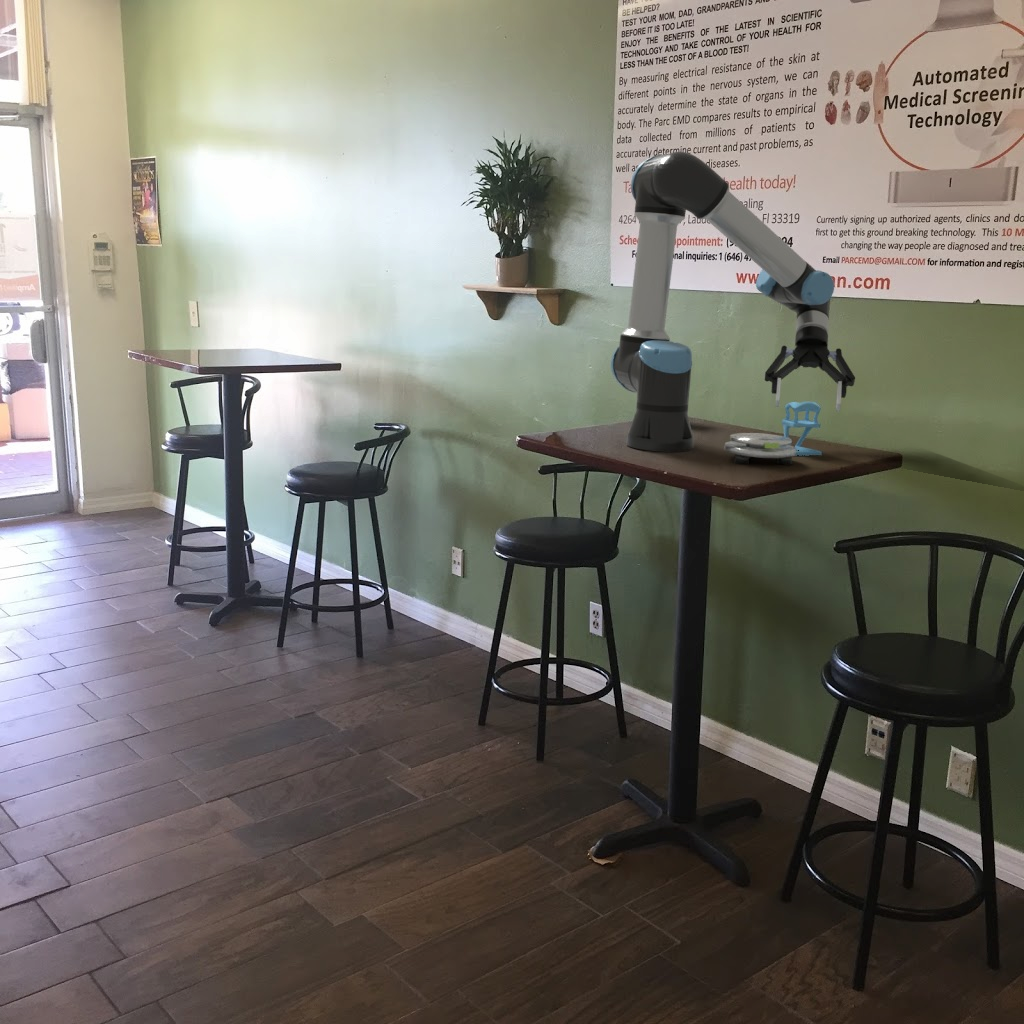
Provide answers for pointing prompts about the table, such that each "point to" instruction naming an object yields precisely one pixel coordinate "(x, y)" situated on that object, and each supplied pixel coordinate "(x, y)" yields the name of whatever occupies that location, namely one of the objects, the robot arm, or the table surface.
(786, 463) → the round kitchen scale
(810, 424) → the chair
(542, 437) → the table surface
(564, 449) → the table surface
